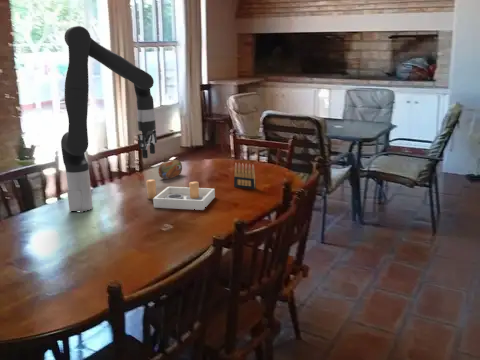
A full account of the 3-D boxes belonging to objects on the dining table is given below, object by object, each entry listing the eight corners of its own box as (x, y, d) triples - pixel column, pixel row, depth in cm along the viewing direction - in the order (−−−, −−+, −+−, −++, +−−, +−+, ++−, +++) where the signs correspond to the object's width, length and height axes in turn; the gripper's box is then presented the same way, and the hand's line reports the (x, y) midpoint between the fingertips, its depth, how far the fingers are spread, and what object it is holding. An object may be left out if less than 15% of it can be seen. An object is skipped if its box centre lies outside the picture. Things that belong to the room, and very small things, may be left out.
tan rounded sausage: (154, 199, 243) (153, 182, 240) (146, 198, 244) (144, 181, 241) (157, 196, 246) (156, 179, 244) (149, 196, 247) (148, 179, 245)
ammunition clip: (256, 188, 255) (255, 163, 252) (254, 189, 254) (254, 164, 251) (235, 185, 260) (235, 161, 257) (234, 186, 258) (233, 162, 255)
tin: (162, 180, 272) (161, 164, 270) (157, 180, 274) (156, 163, 272) (182, 174, 283) (182, 158, 281) (178, 173, 285) (177, 157, 283)
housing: (203, 210, 226) (202, 189, 224) (153, 207, 231) (152, 187, 229) (214, 197, 243) (214, 177, 241) (168, 195, 248) (167, 176, 246)
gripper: (144, 116, 243) (147, 152, 247) (131, 122, 230) (134, 159, 234) (160, 116, 241) (162, 152, 246) (148, 122, 228) (150, 159, 232)
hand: (149, 155), depth 240 cm, fingers open, 8 cm apart
